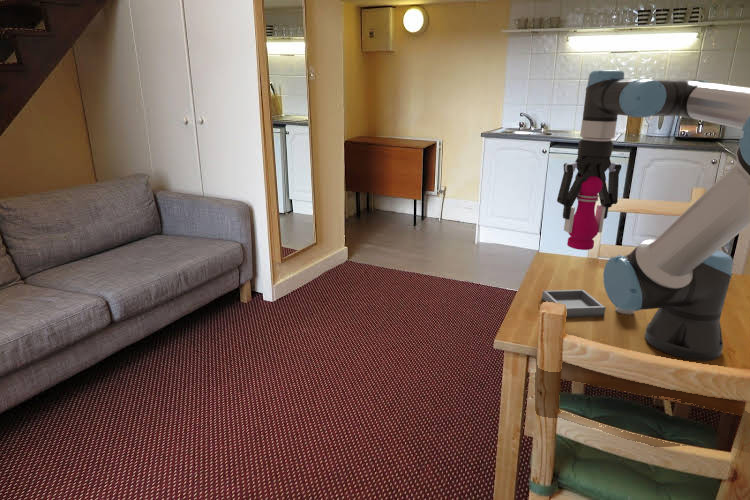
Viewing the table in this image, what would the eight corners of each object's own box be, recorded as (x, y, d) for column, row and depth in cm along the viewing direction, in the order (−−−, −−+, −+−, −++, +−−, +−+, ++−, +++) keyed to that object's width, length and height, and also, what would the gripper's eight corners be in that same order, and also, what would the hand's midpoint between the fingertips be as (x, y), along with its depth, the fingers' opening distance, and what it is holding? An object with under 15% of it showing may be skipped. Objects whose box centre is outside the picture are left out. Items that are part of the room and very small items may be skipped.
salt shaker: (637, 314, 129) (644, 277, 126) (621, 314, 128) (627, 278, 125) (627, 306, 133) (634, 271, 130) (611, 307, 132) (618, 272, 129)
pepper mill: (590, 252, 122) (603, 171, 116) (561, 246, 126) (572, 168, 120) (598, 245, 128) (611, 167, 121) (570, 240, 132) (580, 164, 126)
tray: (604, 316, 127) (605, 307, 126) (560, 317, 126) (561, 308, 125) (582, 297, 138) (583, 289, 137) (541, 299, 137) (542, 290, 136)
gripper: (627, 137, 123) (612, 226, 130) (549, 137, 121) (538, 227, 128) (645, 140, 116) (628, 234, 123) (563, 140, 114) (550, 236, 121)
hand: (582, 231), depth 126 cm, fingers closed on pepper mill, 7 cm apart
